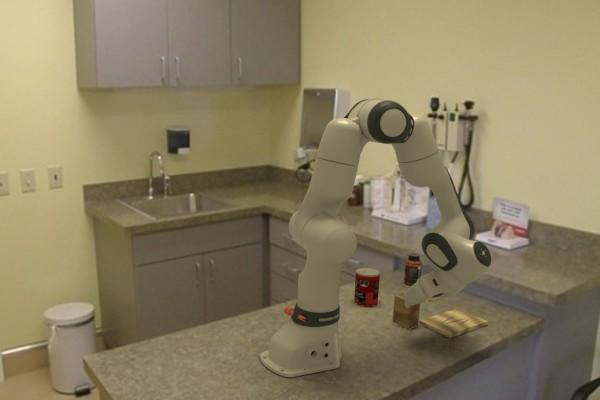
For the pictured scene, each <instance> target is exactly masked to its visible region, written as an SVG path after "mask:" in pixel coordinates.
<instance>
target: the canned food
mask: <svg viewBox="0 0 600 400" xmlns="http://www.w3.org/2000/svg"><path fill="white" fill-rule="evenodd" d="M380 273H381V272H380V271H379V270H378V269H376V268H372V267H371V268H369V267H361V268H357V269H356V270H355V281H354V296H353V297H354V299H353V300H354V302H355V304H356V303H357V304H356V305H359V306H361V305H362V307H373V305H374V306H377V304H378V302H379V294H380V293H379V291H380V278H381V277H380V276H381V274H380Z"/></svg>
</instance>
